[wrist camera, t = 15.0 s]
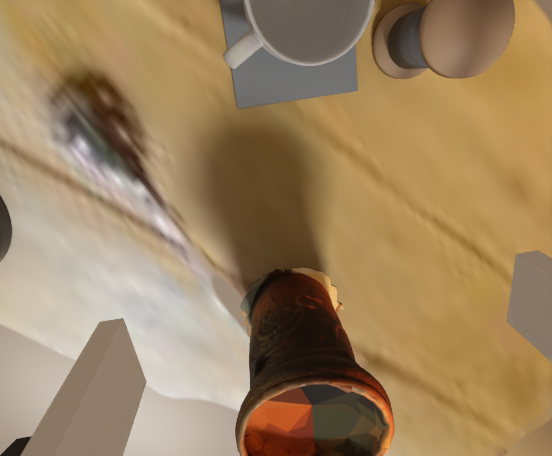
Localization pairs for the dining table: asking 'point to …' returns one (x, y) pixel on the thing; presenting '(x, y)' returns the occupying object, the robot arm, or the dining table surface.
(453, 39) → the brown rounded upright piece
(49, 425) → the robot arm
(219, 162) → the dining table surface
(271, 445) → the vessel
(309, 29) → the teacup
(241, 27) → the pad
